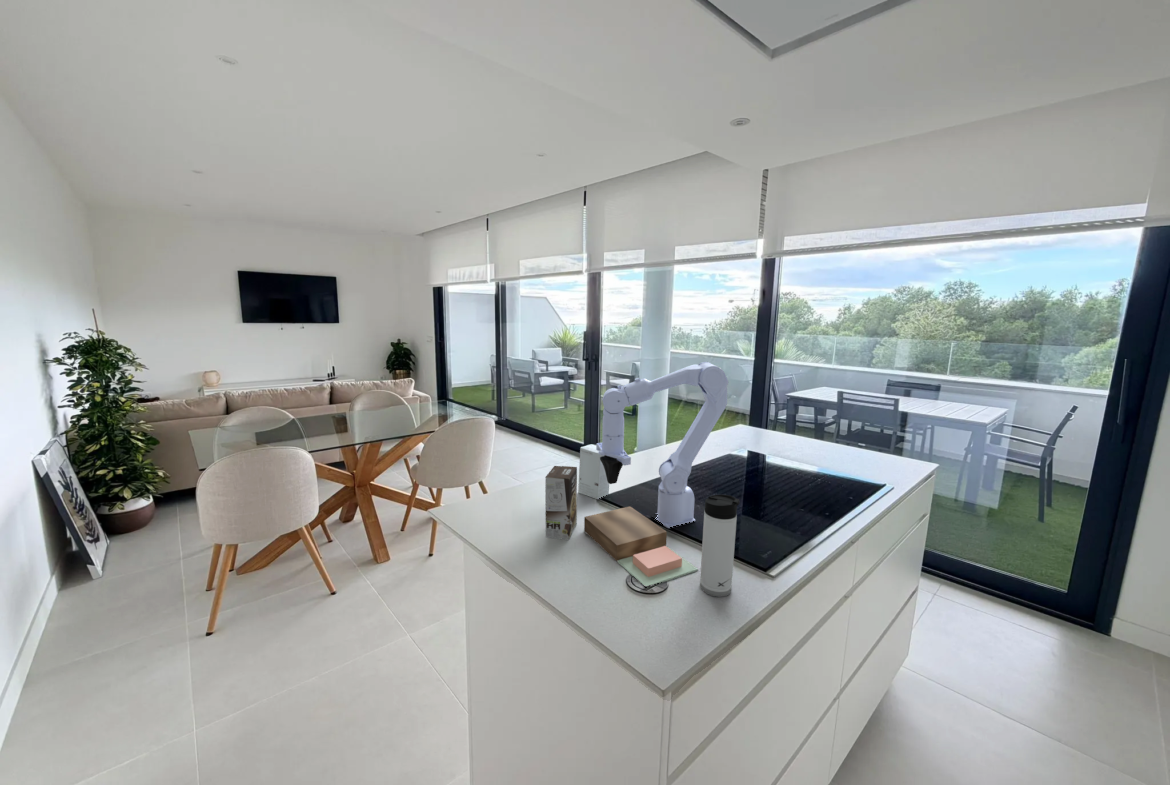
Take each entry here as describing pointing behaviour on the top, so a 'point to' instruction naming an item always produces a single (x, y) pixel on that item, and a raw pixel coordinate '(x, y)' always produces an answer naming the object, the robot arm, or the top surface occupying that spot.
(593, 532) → the block
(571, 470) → the coffee box
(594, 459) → the skincare box
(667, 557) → the coral block
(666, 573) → the sage mat
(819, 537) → the top surface
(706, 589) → the travel mug
